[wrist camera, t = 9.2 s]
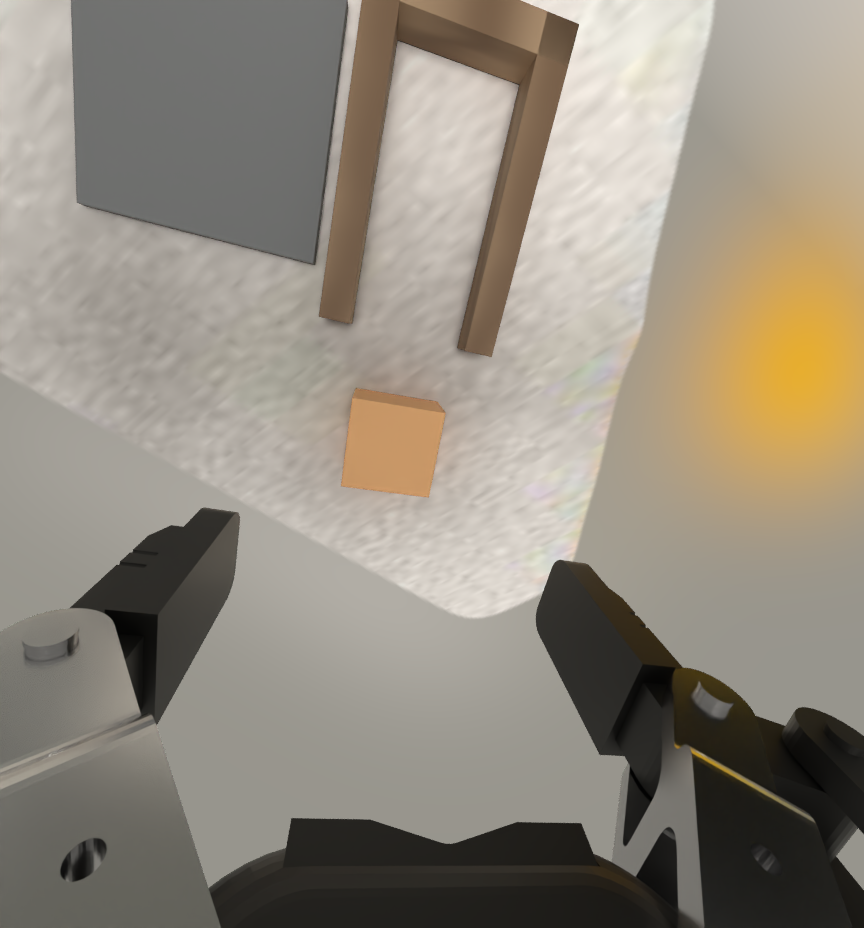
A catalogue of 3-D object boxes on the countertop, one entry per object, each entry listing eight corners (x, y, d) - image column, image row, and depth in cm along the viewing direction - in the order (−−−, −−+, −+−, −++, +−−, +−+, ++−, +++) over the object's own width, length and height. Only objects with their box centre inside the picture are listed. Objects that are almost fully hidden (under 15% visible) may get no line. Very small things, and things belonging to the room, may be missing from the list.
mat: (85, 206, 20) (76, 202, 20) (78, -94, 17) (67, -108, 16) (314, 264, 22) (313, 263, 22) (348, 7, 19) (347, -3, 18)
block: (345, 465, 26) (340, 486, 23) (356, 387, 25) (352, 397, 21) (423, 476, 27) (428, 497, 24) (437, 401, 25) (445, 413, 22)
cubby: (325, 317, 23) (318, 316, 21) (371, -13, 19) (370, -61, 16) (481, 353, 25) (491, 357, 22) (556, 58, 20) (579, 24, 18)
